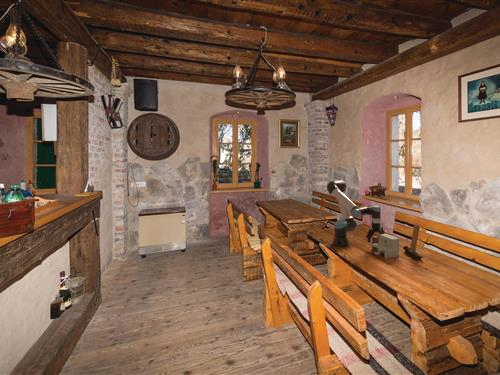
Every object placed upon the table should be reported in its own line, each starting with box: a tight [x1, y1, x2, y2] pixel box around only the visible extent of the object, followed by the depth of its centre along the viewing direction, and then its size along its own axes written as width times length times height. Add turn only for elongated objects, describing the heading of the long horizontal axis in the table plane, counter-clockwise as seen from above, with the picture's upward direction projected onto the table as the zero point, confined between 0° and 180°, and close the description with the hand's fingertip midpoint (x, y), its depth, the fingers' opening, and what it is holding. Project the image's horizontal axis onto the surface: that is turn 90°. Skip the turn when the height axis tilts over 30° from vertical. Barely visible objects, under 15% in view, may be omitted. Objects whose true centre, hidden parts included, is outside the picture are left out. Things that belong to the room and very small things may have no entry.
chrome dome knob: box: [374, 250, 383, 256], centre depth 241 cm, size 6×6×2 cm
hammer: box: [402, 223, 424, 260], centre depth 230 cm, size 20×5×30 cm, turn 1°
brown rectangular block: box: [371, 235, 385, 255], centre depth 245 cm, size 18×4×12 cm, turn 17°
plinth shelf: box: [371, 233, 400, 259], centre depth 239 cm, size 16×14×16 cm
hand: (375, 244), depth 252 cm, fingers open, 13 cm apart
